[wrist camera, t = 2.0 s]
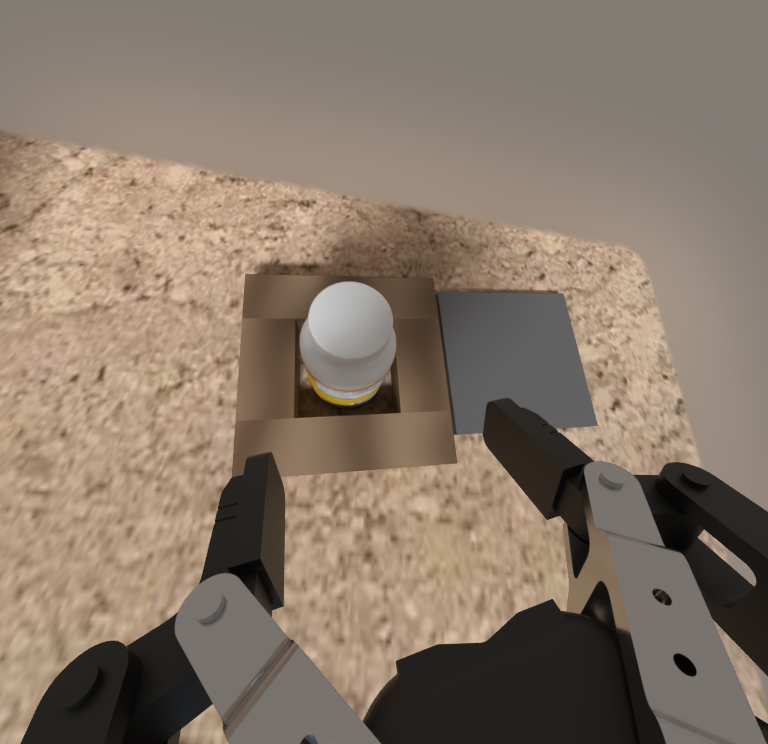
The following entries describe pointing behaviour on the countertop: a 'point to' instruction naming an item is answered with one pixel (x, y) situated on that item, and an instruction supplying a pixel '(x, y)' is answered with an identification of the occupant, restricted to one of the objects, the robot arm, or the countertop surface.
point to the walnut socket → (339, 433)
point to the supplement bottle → (348, 343)
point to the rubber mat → (512, 358)
